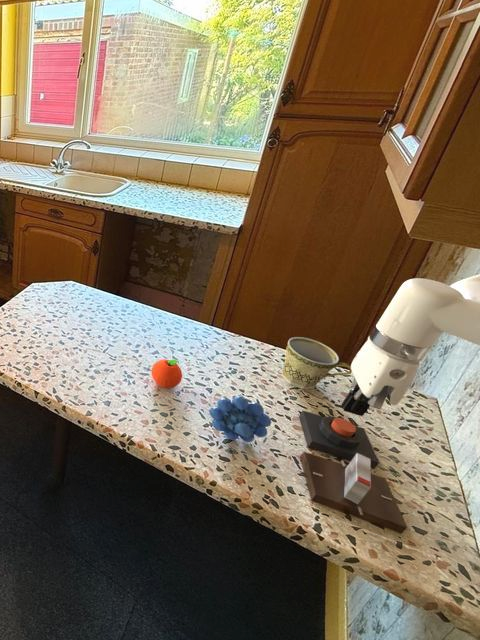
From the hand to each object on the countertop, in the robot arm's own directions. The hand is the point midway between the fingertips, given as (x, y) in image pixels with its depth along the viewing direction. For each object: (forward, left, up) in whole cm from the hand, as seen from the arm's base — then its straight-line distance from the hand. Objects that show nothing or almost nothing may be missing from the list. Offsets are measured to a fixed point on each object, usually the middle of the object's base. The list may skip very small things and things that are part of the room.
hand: (351, 410), depth 82 cm
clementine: (+34, -2, -10) cm, 35 cm away
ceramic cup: (+2, -18, -10) cm, 20 cm away
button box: (0, 0, -9) cm, 9 cm away
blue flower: (+20, +10, -10) cm, 24 cm away
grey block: (+1, +13, -7) cm, 15 cm away
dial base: (+1, +13, -9) cm, 16 cm away
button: (0, 0, -6) cm, 6 cm away
